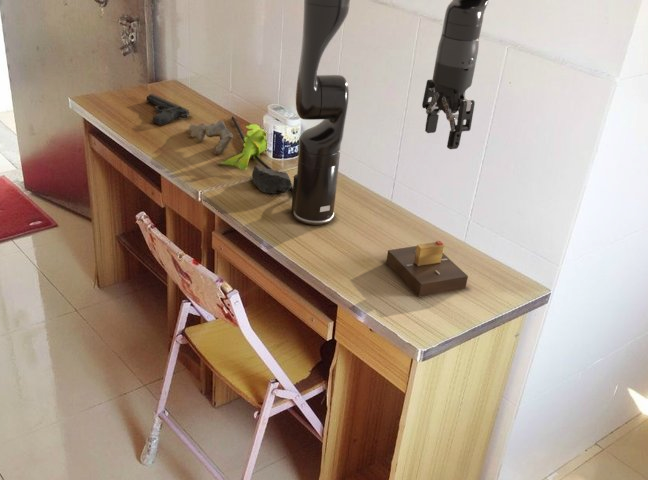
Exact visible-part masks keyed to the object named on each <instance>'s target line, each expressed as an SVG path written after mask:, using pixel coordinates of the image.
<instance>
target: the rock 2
mask: <svg viewBox="0 0 648 480" xmlns="http://www.w3.org/2000/svg"><path fill="white" fill-rule="evenodd" d="M272 169H273V168H271V169H266V168H265V167H262V166H260V165H255V166H254V167H253V170H252V174H251V176H252V181H253V183H254V185H255V186H256V187H257V188H258V189H259V191H261V192H262V193H266V194H286V193H287V192H288V191H289V190H290V188H291V187H293V183H292V181H291V177H290V176H289V174H288V173H287V172H286V171H279V170H276V169H273V170H272Z"/></svg>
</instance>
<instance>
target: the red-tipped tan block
mask: <svg viewBox="0 0 648 480" xmlns="http://www.w3.org/2000/svg"><path fill="white" fill-rule="evenodd" d="M416 246H417V248H416V253H415V259H414V263H415V264H416V265H417V266H421V265H428V264H434V263H440V262H441V258H442V253H444V249H445V244H444V243H443V242H442V241H441V240H437V241H435V242H428V243H420V244H417V245H416Z"/></svg>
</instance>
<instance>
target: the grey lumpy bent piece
mask: <svg viewBox="0 0 648 480" xmlns="http://www.w3.org/2000/svg"><path fill="white" fill-rule="evenodd" d="M188 130H189V132H190V133H191V138H193V139H194V138H196V139H197V140H198V141H200V142H203V141H204V140H205V138H206V137H207V138H214V137H215V138H217V137H219V141H218V142H217V144H216V146H215V148H214V150H215V153H216V155H222V154H223V153H224V152H225V150H226V149H227V147H228V146H229V145H230V144H231V142H232V140H233V137H234V134H233V133H232V132H230V131H229V129H228V127H226V125H225V122H224V121H223V120H222V119H220V120H218V121H217V122H216V123H214V122H212V123H210V124H209V125H208V126H207V124H205V123H200V124H198V125H196V124H190V125H189V127H188Z"/></svg>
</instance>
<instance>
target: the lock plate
mask: <svg viewBox="0 0 648 480" xmlns="http://www.w3.org/2000/svg"><path fill="white" fill-rule="evenodd" d="M416 248H417V245H413V246H407V247H400V248H394V249H388V250H387V255H386V260H385V261H386V264H387V265H388V266H389V267H390V268H391V269H392V270H393V272H395V273H396V274H397V276H399V278H401V279H402V281H403V282H404V283H405V284H406V285H407V286H408V287H409V288H410V289H411V290H412V291H413V292H414V293H415V294H416V295H417V296H418V297H424V296H430V295H435V294H441V293H446V292H453V291H457V290H458V291H459V290H463V289H466V287H467V282H468V278H469V275H468V274H467V273H466V272H465V271H463V270H462V269H461V268H460V267H459V266H458V265H457V264H456V263H454V262H453V260H452V259H450V258H449V257H448V256H447V255H446V254H445V253H444V252H443V253H442V258H441V262H440V263H434V264H428V265H421V266H417V265H416V264H415V263H414V259H415V253H416Z"/></svg>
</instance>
